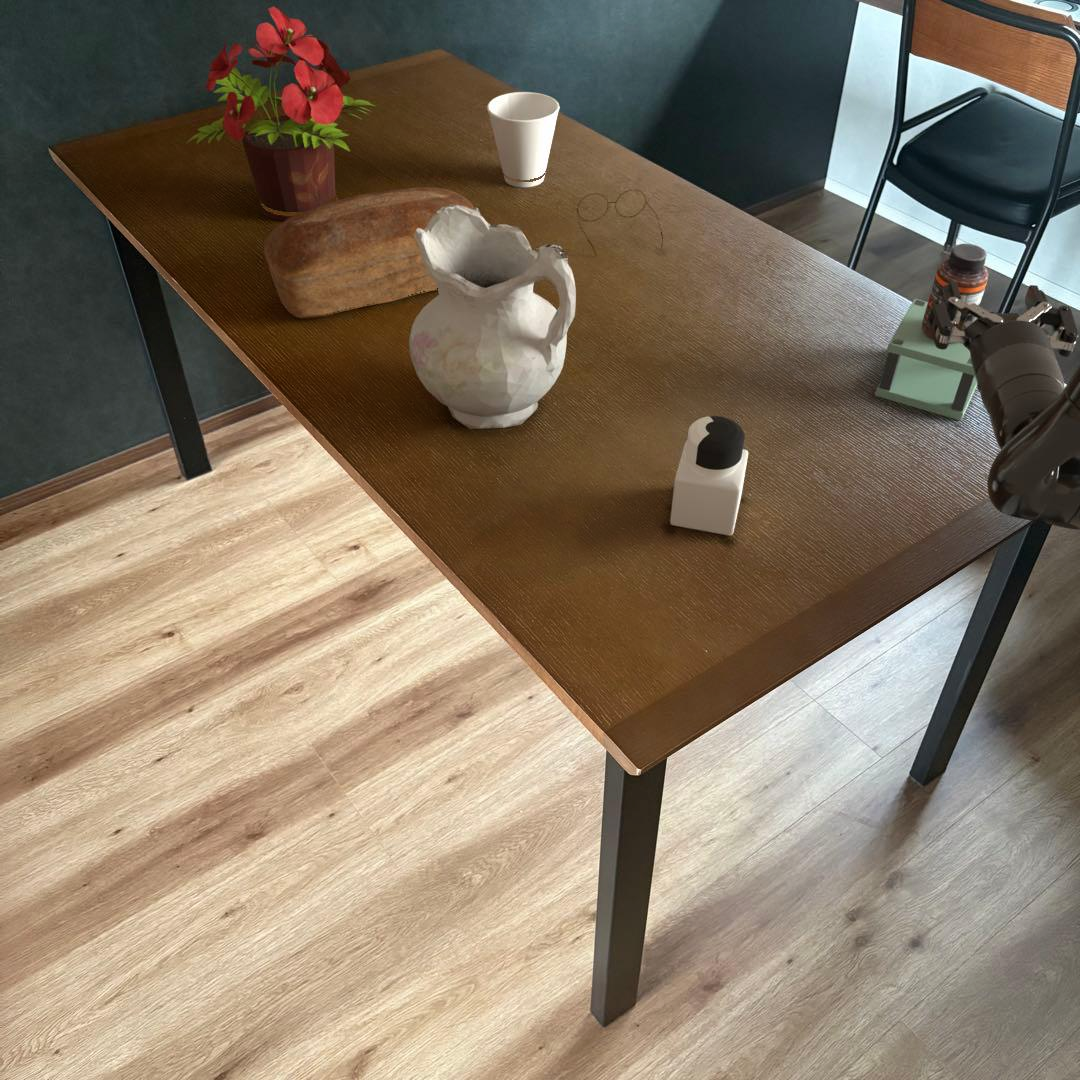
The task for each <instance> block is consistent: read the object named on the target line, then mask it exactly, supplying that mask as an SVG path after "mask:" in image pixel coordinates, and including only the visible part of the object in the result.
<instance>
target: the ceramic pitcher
mask: <svg viewBox="0 0 1080 1080" xmlns="http://www.w3.org/2000/svg"><path fill="white" fill-rule="evenodd" d="M436 213H437V214H435V215H434V216H433V217H432V218H431V219H430V221H429V222H428V224H427V226H426V228H425V229H423V230H422V229H421V228H417V230H416V232H415V237H414V238H415V239H416V240H417V242H418V244H419V248H420V252H421V256H422V258H423V261H424V264H425V267H426V268H427V270H428V272H429V274H430V276H431V277H432V279H433V280H434V281H435V283H436V285H437V288H438V290H437V292H438V295H437V296H436V297H433V298H432V300H431V301H429V302H428V303H426V305H425V306H423V307H422V309H421V310H420V312H419V313H418V314H417V315H416V317H415V319H414V321H413V323H412V326H411V330H410V334H409V335H410V336H409V339H408V345H409V354H410V359H411V362H412V364H413V367H414V370H415V373H416V376H417V377H418V379H419V381H420V382H421V384H422V385H423V387H424V388H425V389H426V391H427V392H429V393H430V394H431V395H432V396H433V397H434V398H435V399H436V400H437V401H438V402H439V403H441V404H442V405H444V406H446V407H447V408H448V410H449V412H450V414H451V417H452V418H453V419H455V421H457V422H459V423H460V424H462V425H463V426H465V427H466V428H467V429H469V430H474V429H476V430H478V429H505V428H509V427H515V426H521V425H522V424H524V423H525V422H526V421H527V420H528V419H529V418H530V417H531V416H532V415H533V414H534V413H535V412H536V411H537V410H538V408H539V401H540V400H541V399H542V398H544V396H545V395H546V394H547V393H549V391H550V390H551V389H552V387H553V386H554V384H555V383H556V381H557V380H558V378H559V376H560V375H561V373H562V370H563V367H564V363H565V358H566V352H567V338H568V335H567V334H568V331H569V328H570V326H571V325H572V322H573V321H574V318H575V316H576V305H577V289H576V283H575V282H576V281H575V277H574V273H573V270H572V268H571V267H570V265H569V262H568V258H569V255H568V254H567V253H565V252H564V249H563V248H562V247H561V246H560V245H556V244H550V243H547V244H544V245H541V246H536V247H535V250H534V249H532V246H531V244H530V243H529V240H528V239H527V237H526V235H525V234H524V233H523V231H522V230H521V229H520V228H519V226H512V225H509V224H506V223H505V224H491V223H488V221H487V220H485V218H484V216H482V214H481V212H480V210H479V208H478V207H475V210H472V209H469V208H467V207H465V206H459V205H456V204H453V205H451V204H450V205H448V206H446V207H445V206H443V207H442V208H441V209H439V210H438V211H437V212H436ZM559 248H560V249H559ZM540 280H541V281H542V280H547V281H549V282H551V283H552V284H554V287H555V289H556V292H557V294H558V299H559V305H558V307H557V309H556V307H554V306H553V304H552V303H550V302H549V301H548V300H547V299H545V298H544V297H542V296H540V295H539V294H537V293H535V292H534V285H535V282H538V281H540Z"/></svg>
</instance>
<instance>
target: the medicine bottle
mask: <svg viewBox="0 0 1080 1080" xmlns="http://www.w3.org/2000/svg"><path fill="white" fill-rule="evenodd" d="M745 438H746V435H745V431H744V429H743V428H742V426H741V425H740V424H739V423H738V422H736V421H735V420H733V419H731V418H728V417H725V416H721V415H707V416H704V417H700V418H698V419H697V420H695V421H694V422H693V423H691V424H690V426H689V428H688V432H687V440H686V441H685V443H684V446H683V449H682V453H681V456H680V460H679V463H678V465H677V466H678V467H677V469H676V473H675V477H674V483H673V491H672V492H673V493H672V501H671V502H672V503H671V511H670V520H669V522H670V525H671V526H675V527H679V528H680V527H681V528H684V529H690V530H696V531H701V532H707V533H712V534H718V535H723V536H730V537H731V536H733V534H734V532H735V528H736V522H737V519H738V513H739V509H740V505H741V499H742V494H743V489H744V481H745V477H746V471H747V465H748V458H749V451H748V450H747V449H744V443H745Z"/></svg>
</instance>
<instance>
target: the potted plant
mask: <svg viewBox="0 0 1080 1080" xmlns="http://www.w3.org/2000/svg"><path fill="white" fill-rule="evenodd" d="M268 12H269V14H270V16H271V18H272V20H273V21H274V23H275V25H276V28H275V26H274V25H272V24H271V23H269V22H263V23H259V24H258V26H257V28H256V31H255V33H256V41H257V43H258V44H259V45H258V44H256V43H255V42H252V41H249V42H250V44H251V45H253V46H254V47H256V48H258V49H259V50H257V49H255V48H249V49H248V53H249V54H250V55H251V57H255V58H257V59H251V64H252V65H254V66H258V67H262V68H265V69H269V68H270V70H269V71H270V72H269V78H268V79H269V80H268V85H263V86H262V82H261V79H260V77H256V78H252V75H251V74H250V73H248V74H245V75H243V76H242V75H241V72H240V71H239V70H238V69H237V68H236V66H237V64H238V63H239V60H238V57H236V56H238V55H239V54H241V53H242V51H243V47H242V44H241V43H235V44H233V45H231V47H230V49H229V51H228V55H227V41H225V42H224V43H223V46H222V49H221V51H220V53H219V54H218V55H217V57H216V58H215V59H213V60H212V61H211V63H210V67H209V73H207V79H206V87H205V90H206V91H208V92H209V91H212V93H215V94H216V93H217V94H218V93H221V94H222V93H224V94H223V95H222V96H220V97H219V98H218V99H217V102H223V101H224V102H226V107H225V112H224V113H223V117H220V118H219V119H218V120H215V121H213V122H212V123H211V124H210V125H204V126H201V127H199V128H197V129H196V130H197V131H199V132H198V133H196V134H194V135H193V136H191V138H190V139H188V140H187V142H186V144H188V143H189V142H191V141H192V140H194V139H197V140H196V143H195V144H196V145H198V144H199V143H200V142H201V141H203V140H204V139H205V138H206V137H208V136H209V137H208V142H207V143H208V145H209V144H210V143H211V141H212V140H213V139H214V138H215V136H216V141H217V143H219V142H220V140H221V139H222V137H223V135H224V134H225V133H226V135H227V136H228V137H229V138H230V139H231V140H232V141H237V142H241V143H242V146H243V149H244V153H245V155H246V160H247V162H248V165H249V169H250V172H251V175H252V178H253V181H254V184H255V188H256V191H257V195H258V198H259V200H258V205H259V208H260V210H261V213H262V214H263V215H264V216H266V218H269V219H272V220H274V221H277V222H278V221H279V222H284V221H286V220H287V219H289V218H291V217H293V216H283V215H276V214H273V213H271V212H268V211H266V210H265V209H264V208H263V207H262V205H260V204H261V203H263V204H264V205H265V206H266V207H268V208H271V209H273V210H278V211H283V212H305V211H307V210H310V209H313V208H317V207H320V206H323V205H325V204H326V203H328V202H330V200H331V199H332V198H333V197H334V194H336V197H335V201H338V200H339V199H338V194H337V191H336V173H335V172H336V170H335V169H336V168H335V145H337V146H338V147H340V148H343V149H344V150H346V151H348V152H351V150H350V148H349V146H348V145H347V143H346V142H345V141H343V140H342V139H339V138H342V137H348V136H350V134H347V133H345V132H343V130H342V129H339V128H336V127H337V126H338V125H339V123H336V122H335V121H336V120H337V119H338V118H339V116H340V115H341V114H343V115H348V116H351V117H354V118H357V119H360V120H362V121H363V119H362V118H361V117H360V116H358V115H356V114H354V113H351V112H345V111H342V110H350V111H356V112H359V113H362V114H365V115H368V116H370V114H369V113H368V112H371V113H373V111H371V110H369V109H368V108H365V107H362V106H364V105H365V106H366V105H367V106H373V107H378V106H377V105H375V103H372V102H369V101H367V100H363V99H354V98H353V97H351V96H349V95H344V94H343V93H342V91H341V89H340V88H342V87H344V86H346V85H348V83H349V82H350V81H351V75H350V72H349V71H347V70H342V68H341V67H340V65H339V63H338V61H337V60H336V58H335V57H333V55H332V54H331V53H330V47H329V46H328V45H327V44H326V43H325V42H324V41H323V40H320V39H318V38H316V37H313V36H314V35H313V34H311V33H310V34H308V35H307V34H306V33H307V31H308V30H307V28H306V25H305V24H304V23H303V21H301V20H300V19H298V18H290V17H289V16H287V15H286V14H285V13H284V12H282V11H280V10H279V8H276V7H275V6H272V7H269V8H268ZM305 34H306V35H305ZM260 50H261V52H262V53H261V52H260ZM290 50H291V51H292V53H293V54H294V55H296V56H297V57H298V58H297V59H298V61H297V62H296V61H295V60H294V59H292V58H291V57H289V56H287V55H286V53H289V51H290ZM259 58H265V59H266V60H262V59H259ZM282 62H285V63H290V64H292V65H294V67H293V72H294V75H295V79H296V80H297V82H298V83H299V84H296V83H292V82H291V83H289V84H288V85H286V86H284V88H283V91H282V94H281V97H280V96H277V93H276V80H277V76H278V72H279V69H280V66H281V64H282ZM307 62H308V63H309V64H310V65H312V66H318V69H316V68H313V67H311V66H310V65H309V64H308V63H307ZM276 66H277V67H276ZM274 67H276V70H275V74H274V77H273V80H272V73H273V68H274ZM271 81H272V83H271ZM216 84H217V85H221V87H219V88H217V89H216V90H214V88H215V86H216ZM272 84H273V86H272V87H273V97H272V96H271V85H272ZM243 92H244V93H243ZM242 94H243V95H242ZM238 101H241V103H238ZM264 104H271V106H272V110H273V113H274V117H270V115H269V113H268V111H267V109H266V108H265V106H264ZM345 105H346V106H345ZM360 105H361V106H360ZM277 106H281V107H282V109H283V111H284V113H285V115H279V114H278V109H277ZM258 107H262V108H263V110H264V111H265V114H266V115H267V119H264V118H263V116H262V114H261V113H260V112H259V110H258V109H257V108H258ZM255 111H256V112H257V113H259V115H260V117H261V118H262V120H260V119H255V118H252V117H253V116H254V114H255ZM366 111H367V112H366ZM373 114H374V113H373ZM248 120H251V121H256V122H255V123H253V124H251V125H250V126H248V127H247V129H245V131H244V128H246V125H247V123H246V122H247V121H248ZM244 132H245V133H244ZM260 201H261V202H260ZM335 201H334V202H335Z"/></svg>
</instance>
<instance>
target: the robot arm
mask: <svg viewBox="0 0 1080 1080" xmlns="http://www.w3.org/2000/svg"><path fill="white" fill-rule="evenodd" d="M1024 305H1025V308H1026V310H1027V311H1026V312H1024V313H1023V314H1021V315H1019V314H1018V312H1005V313H1004V312H1003V313H1002V312H998V311H988V310H987V309H985V308H983V307H981V306H980V305H979V306H978V305H976V304H975V303H973V304H970V305H969V304H967V303H965V302H964V301H962V300H961V295H960V292H959V288H958V285H957V281H949V283H948V285H945V286H944V288H943V291H942V295H941V300H940V299H934V300H933V301H932V304H931V309H930V313H929V316H928V318H927V323H928V325H929V328H930V331H931V334H932V337H933V340H934V343H935V346H936V347H937V348H938V349H942V350H944V349H947V347H948V344H949V343H963V345H964V346H965V347H966V348H967V349H968V350H969V351H970V356H971V362H972V366H973V370H974V373H975V377H976V380H977V386H976V388H977V391H978V392H979V395H980V398H981V402H982V404H983V407H984V409H985V410H986V412H987V414H988V417H989V421H990V424H991V428H992V431H993V435H994V437H995V440H996V444H997V445H998V447H999V449H1000V450H999V452H998V453H997V455H996V457H995V458H994V460H993V462H992V463H991V466H990V468H989V472H988V476H987V482H986V486H987V487H986V488H987V494H988V497H989V501H990V502H991V504H992V505H993V506H994V508H995V509H996V510H997V511H999V512H1000V513H1001V514H1004V515H1006V516H1009V517H1013V518H1017V519H1022V520H1027V521H1031V522H1036V523H1041V524H1046V525H1050V526H1055V527H1059V528H1064V529H1069V530H1077V531H1079V530H1080V364H1079V365H1078V366H1077V368H1076V370H1075V371H1074V373H1073V375H1072V376H1071V377H1070V378H1069V381H1068V382H1067V383H1066V385H1065V381H1064V376H1063V373H1062V371H1061V367H1060V365H1059V362H1058V359H1057V357H1056V354H1055V351H1054V350H1057V351H1058V354H1059V356H1060V357H1061V356H1062V357H1065V358H1067V357H1070V356H1072V353H1073V350H1074V348H1075V345H1076V343H1077V341H1078V338H1079V332H1078V328H1077V324H1076V321H1075V318H1074V315H1073V311H1072V308H1070V307H1069V306H1067V305H1060V306H1059V307H1058V308H1057V307H1053V304H1052V303H1051V302H1049V301H1048V299H1047V296H1046V294H1045V292H1044V290H1043V289H1039V287H1038V285H1035V284H1030V285H1029V286H1028V289H1027V292H1026V295H1025V297H1024ZM958 311H959V312H961V317H958V316H956V315H957V312H958ZM974 317H976V318H977V319H976V320H975V321H974V322H973V323H972V321H973V318H974ZM1046 325H1047V326H1051V331H1052V333H1053V334H1052V335H1051V334H1050V333H1049V331H1047V330H1046V329H1044V328H1045V326H1046Z"/></svg>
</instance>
